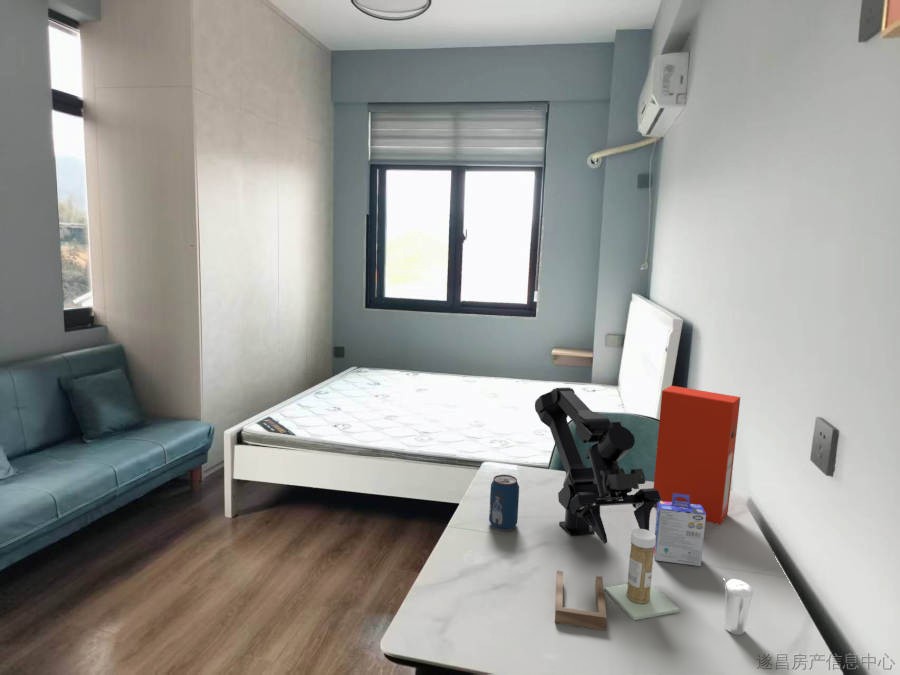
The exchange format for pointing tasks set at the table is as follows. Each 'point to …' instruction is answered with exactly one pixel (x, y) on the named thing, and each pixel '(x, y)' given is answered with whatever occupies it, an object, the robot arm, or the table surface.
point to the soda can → (504, 502)
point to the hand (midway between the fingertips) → (626, 541)
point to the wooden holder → (580, 616)
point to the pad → (642, 610)
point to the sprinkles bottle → (640, 565)
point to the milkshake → (737, 605)
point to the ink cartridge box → (679, 531)
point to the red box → (697, 448)
